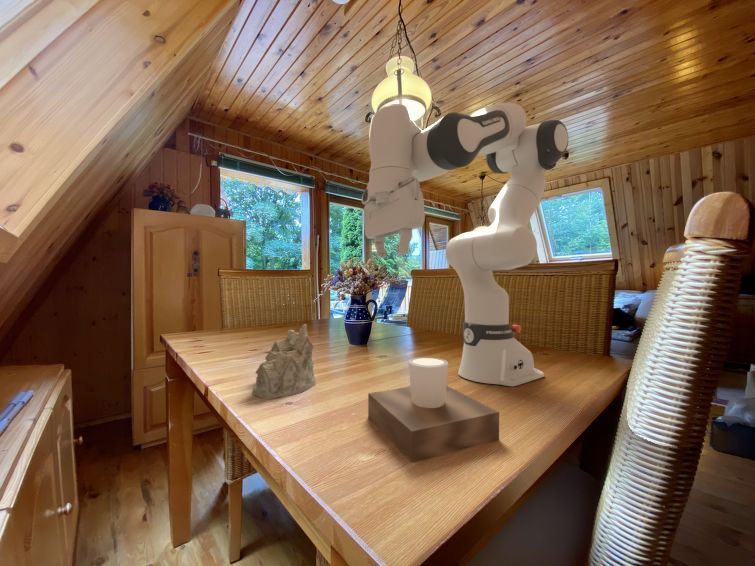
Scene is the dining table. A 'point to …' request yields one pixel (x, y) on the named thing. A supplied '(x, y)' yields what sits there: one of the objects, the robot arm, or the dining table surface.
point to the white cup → (428, 381)
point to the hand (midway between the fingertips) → (391, 256)
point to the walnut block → (432, 423)
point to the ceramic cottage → (286, 367)
